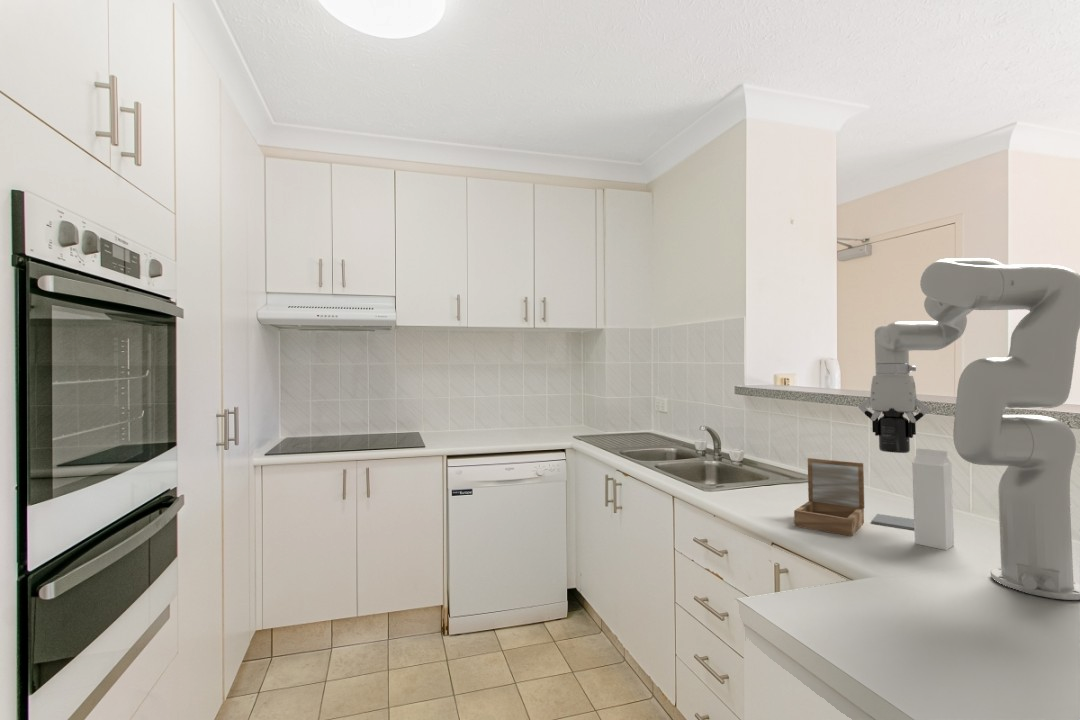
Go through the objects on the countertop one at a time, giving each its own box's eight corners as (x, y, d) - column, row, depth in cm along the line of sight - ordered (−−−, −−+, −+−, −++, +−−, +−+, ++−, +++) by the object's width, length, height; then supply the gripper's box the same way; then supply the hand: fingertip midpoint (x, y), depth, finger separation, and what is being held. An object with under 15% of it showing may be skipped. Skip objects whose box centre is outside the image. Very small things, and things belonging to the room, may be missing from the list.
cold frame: (852, 536, 122) (851, 470, 123) (793, 525, 131) (792, 464, 132) (864, 523, 134) (863, 463, 134) (809, 514, 143) (808, 457, 143)
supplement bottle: (916, 453, 131) (915, 408, 132) (890, 453, 132) (888, 407, 132) (898, 449, 138) (897, 406, 139) (873, 449, 138) (872, 406, 139)
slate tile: (917, 530, 127) (917, 528, 127) (871, 523, 134) (871, 520, 134) (921, 522, 134) (921, 520, 134) (877, 515, 141) (877, 513, 141)
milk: (946, 550, 112) (943, 452, 113) (914, 543, 117) (911, 449, 118) (954, 545, 116) (951, 450, 116) (922, 538, 120) (920, 447, 121)
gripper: (933, 370, 133) (935, 437, 132) (857, 371, 144) (859, 433, 144) (931, 370, 127) (933, 440, 127) (852, 370, 139) (853, 435, 138)
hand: (893, 435), depth 135 cm, fingers closed on supplement bottle, 6 cm apart
